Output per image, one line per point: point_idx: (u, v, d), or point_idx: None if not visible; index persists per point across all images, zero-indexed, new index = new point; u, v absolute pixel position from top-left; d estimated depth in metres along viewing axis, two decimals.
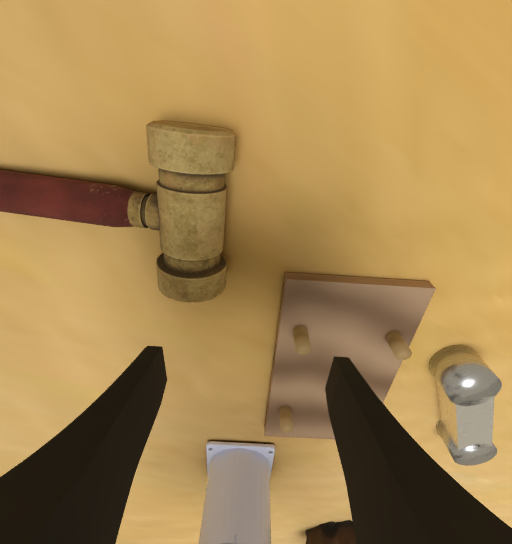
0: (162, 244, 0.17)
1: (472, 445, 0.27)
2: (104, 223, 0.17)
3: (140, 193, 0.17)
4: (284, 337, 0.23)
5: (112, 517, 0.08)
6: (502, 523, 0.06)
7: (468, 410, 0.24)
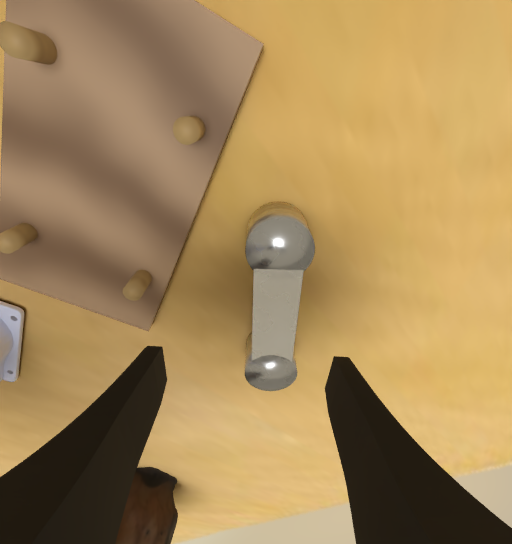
0: None
1: (268, 356, 0.21)
2: None
3: None
4: None
5: (112, 517, 0.08)
6: (502, 523, 0.06)
7: (269, 288, 0.18)
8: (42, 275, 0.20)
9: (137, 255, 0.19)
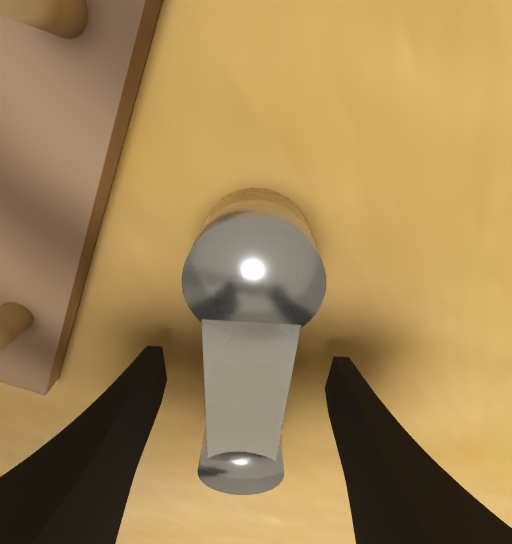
0: None
1: (236, 452, 0.12)
2: None
3: None
4: None
5: (112, 517, 0.08)
6: (502, 523, 0.06)
7: (234, 353, 0.09)
8: None
9: None
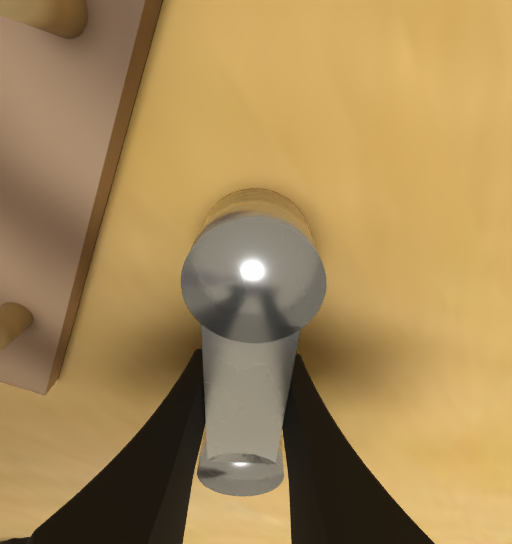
0: None
1: (236, 454, 0.12)
2: None
3: None
4: None
5: (181, 520, 0.08)
6: (407, 519, 0.06)
7: (233, 354, 0.09)
8: None
9: None
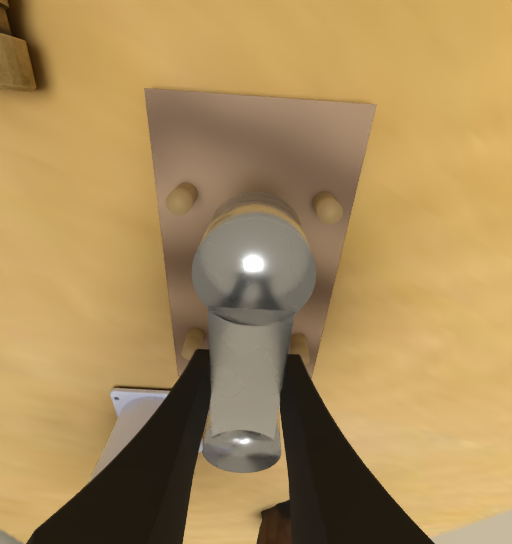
0: None
1: (237, 431, 0.13)
2: None
3: None
4: None
5: (181, 520, 0.08)
6: (407, 519, 0.06)
7: (236, 337, 0.10)
8: None
9: None
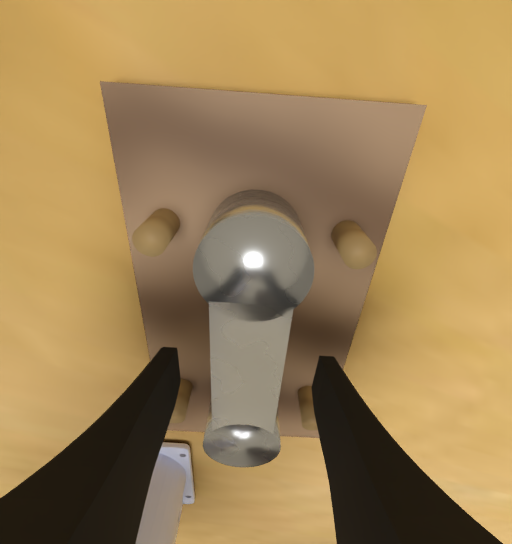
0: None
1: (238, 425, 0.14)
2: None
3: None
4: None
5: (133, 518, 0.08)
6: (474, 522, 0.06)
7: (236, 332, 0.11)
8: (203, 417, 0.19)
9: (297, 374, 0.16)
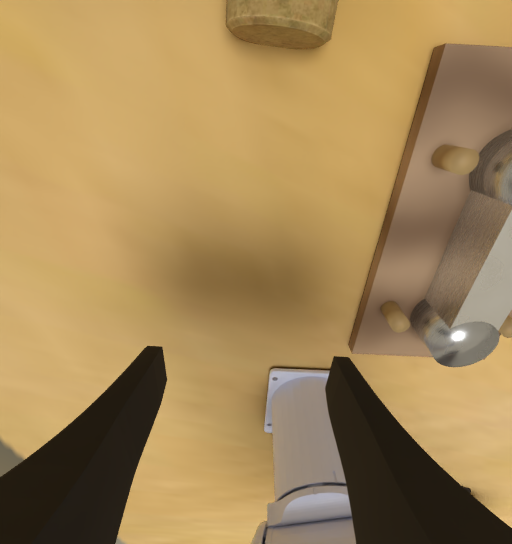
0: None
1: (473, 323, 0.17)
2: None
3: None
4: (416, 171, 0.16)
5: (112, 517, 0.08)
6: (502, 523, 0.06)
7: None
8: (392, 339, 0.22)
9: None
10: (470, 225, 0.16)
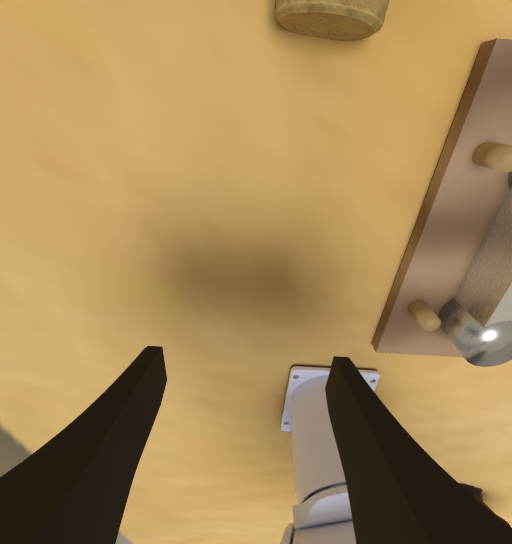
0: None
1: (508, 322, 0.17)
2: None
3: None
4: (456, 168, 0.16)
5: (112, 517, 0.08)
6: (502, 523, 0.06)
7: None
8: (418, 338, 0.22)
9: None
10: (508, 224, 0.16)
